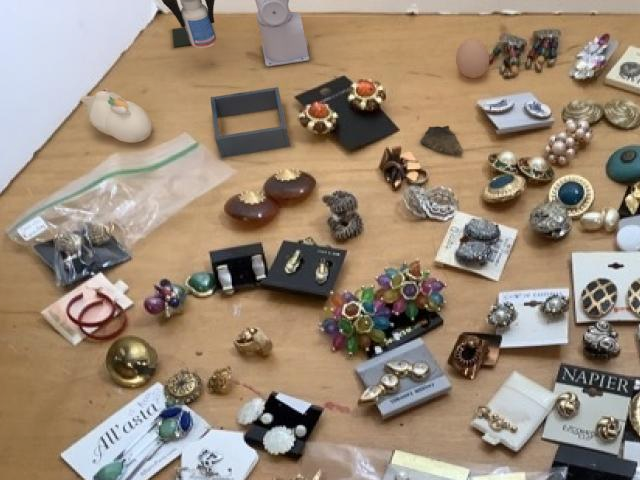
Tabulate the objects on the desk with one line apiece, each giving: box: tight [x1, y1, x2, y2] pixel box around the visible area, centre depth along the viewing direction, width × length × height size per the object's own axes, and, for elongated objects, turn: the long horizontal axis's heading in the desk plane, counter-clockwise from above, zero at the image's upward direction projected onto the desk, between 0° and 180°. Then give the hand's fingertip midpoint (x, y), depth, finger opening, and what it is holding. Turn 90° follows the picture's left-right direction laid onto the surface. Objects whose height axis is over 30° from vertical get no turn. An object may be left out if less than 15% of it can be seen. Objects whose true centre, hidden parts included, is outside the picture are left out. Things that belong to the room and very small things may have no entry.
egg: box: [455, 37, 490, 79], centre depth 173 cm, size 7×7×8 cm
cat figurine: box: [80, 87, 153, 144], centre depth 160 cm, size 10×8×15 cm
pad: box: [171, 27, 192, 48], centre depth 183 cm, size 8×7×1 cm
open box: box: [209, 86, 291, 159], centre depth 162 cm, size 14×14×4 cm
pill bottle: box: [179, 0, 217, 50], centre depth 168 cm, size 6×5×10 cm
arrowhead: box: [419, 125, 464, 155], centre depth 162 cm, size 7×10×1 cm
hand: (197, 22), depth 168 cm, fingers closed on pill bottle, 5 cm apart
